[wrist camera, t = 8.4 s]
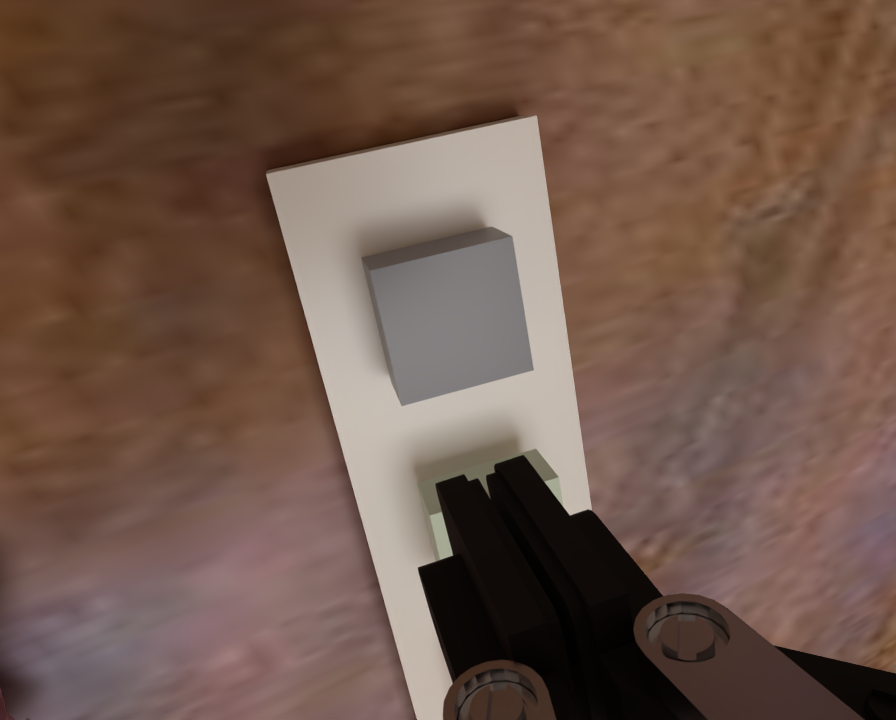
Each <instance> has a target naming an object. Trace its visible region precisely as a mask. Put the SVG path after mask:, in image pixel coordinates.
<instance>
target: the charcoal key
mask: <svg viewBox="0 0 896 720" xmlns="http://www.w3.org/2000/svg"><path fill="white" fill-rule="evenodd" d="M361 259H362V263H363V267H364V271H365V275H366V279H367V284H368V288H369V292H370V296H371V300H372V304H373V309H374V313H375V317H376V321H377V325H378V329H379V334H380V338H381V342H382V346H383V350H384V355H385V359H386V363H387V367H388V371H389V375H390V380H391V383H392V385H393V388H394V390H395V392H396V394H397V397H398V399H399V401H400V404H401V406H404V405H408V404H412V403H415V402H419V401H423V400H426V399H430V398H434V397H437V396H441V395H445V394H448V393H452V392H456V391H459V390H463V389H467V388H470V387H474V386H478V385H481V384H485V383H489V382H492V381H496V380H500V379H503V378H507V377H511V376H514V375H518V374H522V373H525V372H529V371H533V370H534V368H533V362H532V355H531V349H530V343H529V337H528V330H527V324H526V318H525V312H524V305H523V299H522V293H521V287H520V280H519V274H518V268H517V262H516V255H515V249H514V243H513V237H512V236H511V235H509V234H507V233H505V232H502V231H500V230H498V229H496V228H494V227H492V226H491V227H487V228H483V229H479V230H475V231H470V232H466V233H462V234H458V235H454V236H449V237H445V238H441V239H437V240H433V241H428V242H424V243H420V244H416V245H412V246H407V247H403V248H399V249H395V250H391V251H386V252H382V253H378V254H374V255H370V256H365V257H361Z"/></svg>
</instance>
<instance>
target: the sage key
mask: <svg viewBox="0 0 896 720" xmlns="http://www.w3.org/2000/svg"><path fill="white" fill-rule="evenodd" d="M521 455H524V456H525V457H526V458H527V459H528V461H529V462H530V463H531V465H532V466H533V467H534V469H535V470H536V471H537V473H538V474H539V475H540V477H541V478H542V479H543V481H544V482H545V483H546V485H547V486H548V487H549V489H550V490H551V491H552V493H553V494H554V495H555V496H556V498H557V499H558V500H559V502H560V503H561V504H562V506H563V501H562V494H561V488H560V481H559V477H558V475H557V474H556V473H555V472H554V470H553V469H552V468H551V467H550V465H549V464H548V463H547V462H546V460H545V459H544V458H543V457H542V455H541V454H540V453H539V452H538V450H537V449H533V450H530V451H526V452H523V453H519V454H516V455H512V456H509V457H505V458H502V459H498V460H495V461H492V462H488V463H485V464H481V465H478V466H474V467H471V468H467V469H464V470H460V471H457V472H454V473H450V474H447V475H443V476H440V477H436V478H433V479H429V480H426V481H422V482H419V483H417V485H418V489H419V493H420V497H421V502H422V506H423V510H424V514H425V518H426V522H427V527H428V531H429V535H430V539H431V543H432V548H433V552H434V556H435V560H436V561H438V560H441V559H444V558H447V557H450V556H453V553H452V549H451V546H450V542H449V538H448V534H447V530H446V526H445V522H444V518H443V515H442V511H441V507H440V503H439V499H438V495H437V491H436V486H435V483H438V482H441V481H444V480H447V479H450V478H453V477H456V476H459V475H462V474H465V476H466V477H467V479H468V481H470V480H473V479H476V478H478V479H479V480H480V482H481V484H482V485H483V487H484V489H485V491H486V492H487V494H488V496H489V497H490V495H489V491H488V486H487V482H486V475H488V474H492V473H495V471H494V465H495V464H496V463H499V462H503V461H506V460H509V459H512V458H515V457H518V456H521Z"/></svg>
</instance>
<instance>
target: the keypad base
mask: <svg viewBox="0 0 896 720" xmlns="http://www.w3.org/2000/svg"><path fill="white" fill-rule="evenodd" d="M266 176H267V180H268V183H269V187H270V190H271V194H272V198H273V201H274V205H275V209H276V212H277V216H278V219H279V223H280V227H281V230H282V234H283V237H284V241H285V245H286V248H287V252H288V255H289V259H290V263H291V266H292V270H293V274H294V277H295V281H296V284H297V288H298V292H299V295H300V299H301V302H302V306H303V310H304V313H305V317H306V320H307V324H308V328H309V331H310V335H311V339H312V342H313V346H314V349H315V353H316V357H317V360H318V364H319V367H320V371H321V375H322V378H323V382H324V386H325V389H326V393H327V396H328V400H329V404H330V407H331V411H332V414H333V418H334V422H335V425H336V429H337V432H338V436H339V440H340V443H341V447H342V451H343V454H344V458H345V461H346V465H347V469H348V472H349V476H350V479H351V483H352V487H353V490H354V494H355V497H356V501H357V505H358V508H359V512H360V516H361V519H362V523H363V526H364V530H365V534H366V537H367V541H368V544H369V548H370V552H371V555H372V559H373V562H374V566H375V570H376V573H377V577H378V581H379V584H380V588H381V591H382V595H383V599H384V602H385V606H386V609H387V613H388V617H389V620H390V624H391V627H392V631H393V635H394V638H395V642H396V646H397V649H398V653H399V656H400V660H401V664H402V667H403V671H404V674H405V678H406V682H407V685H408V689H409V692H410V696H411V700H412V703H413V707H414V711H415V714H416V718H417V720H443V704H444V699H445V697H446V695H447V692H448V690H449V688H450V687H451V685H452V684H453V683H452V680H451V677H450V674H449V671H448V668H447V665H446V662H445V659H444V656H443V653H442V650H441V646H440V643H439V640H438V637H437V634H436V631H435V628H434V624H433V621H432V618H431V614H430V611H429V608H428V604H427V601H426V597H425V594H424V590H423V587H422V583H421V580H420V576H419V572H418V567H421V566H424V565H427V564H430V563H432V562H435V561H436V560H435V556H434V552H433V548H432V543H431V539H430V535H429V531H428V527H427V522H426V518H425V514H424V510H423V506H422V502H421V497H420V493H419V489H418V485H417V483H419V482H422V481H426V480H429V479H433V478H436V477H440V476H443V475H447V474H450V473H454V472H457V471H460V470H464V469H467V468H471V467H474V466H478V465H481V464H485V463H488V462H492V461H495V460H498V459H502V458H505V457H509V456H512V455H516V454H519V453H523V452H526V451H530V450H533V449H537V450H538V452H539V453H540V454H541V455H542V457H543V458H544V459H545V460H546V462H547V463H548V464H549V465H550V467H551V468H552V469H553V470H554V472H555V473H556V474H557V475H558V477H559V481H560V488H561V494H562V501H563V507H564V508H565V510H566V511H567V512H568V514H569V515H573V514H576V513H579V512H581V511H584V510H587V509H589V510H592V509H591V501H590V494H589V487H588V480H587V473H586V465H585V458H584V451H583V444H582V437H581V430H580V422H579V415H578V408H577V401H576V394H575V386H574V379H573V372H572V365H571V358H570V350H569V343H568V336H567V329H566V322H565V315H564V307H563V300H562V293H561V286H560V279H559V271H558V264H557V257H556V250H555V243H554V236H553V228H552V221H551V214H550V207H549V200H548V192H547V185H546V178H545V171H544V164H543V156H542V149H541V142H540V135H539V128H538V121H537V116H517V117H513V118H508V119H503V120H499V121H494V122H490V123H485V124H480V125H476V126H471V127H466V128H462V129H457V130H452V131H448V132H443V133H438V134H434V135H429V136H425V137H420V138H415V139H411V140H406V141H401V142H397V143H392V144H387V145H383V146H378V147H373V148H369V149H364V150H360V151H355V152H350V153H346V154H341V155H336V156H332V157H327V158H322V159H318V160H313V161H308V162H304V163H299V164H294V165H290V166H285V167H281V168H276V169H271V170H267V171H266ZM491 226H492V227H494V228H496V229H498V230H500V231H502V232H505V233H507V234H509V235H511V236H512V237H513V243H514V249H515V255H516V262H517V268H518V274H519V280H520V287H521V293H522V299H523V305H524V312H525V318H526V324H527V330H528V337H529V343H530V349H531V355H532V362H533V368H534V370H533V371H529V372H525V373H522V374H518V375H514V376H511V377H507V378H503V379H500V380H496V381H492V382H489V383H485V384H481V385H478V386H474V387H470V388H467V389H463V390H459V391H456V392H452V393H448V394H445V395H441V396H437V397H434V398H430V399H426V400H423V401H419V402H415V403H412V404H408V405H404V406H401V404H400V401H399V399H398V397H397V394H396V392H395V390H394V388H393V385H392V383H391V380H390V375H389V371H388V367H387V363H386V359H385V355H384V350H383V346H382V342H381V338H380V334H379V329H378V325H377V321H376V317H375V313H374V309H373V304H372V300H371V296H370V292H369V288H368V284H367V279H366V275H365V271H364V267H363V263H362V259H361V257H365V256H370V255H374V254H378V253H382V252H386V251H391V250H395V249H399V248H403V247H407V246H412V245H416V244H420V243H424V242H428V241H433V240H437V239H441V238H445V237H449V236H454V235H458V234H462V233H466V232H470V231H475V230H479V229H483V228H487V227H491Z"/></svg>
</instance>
